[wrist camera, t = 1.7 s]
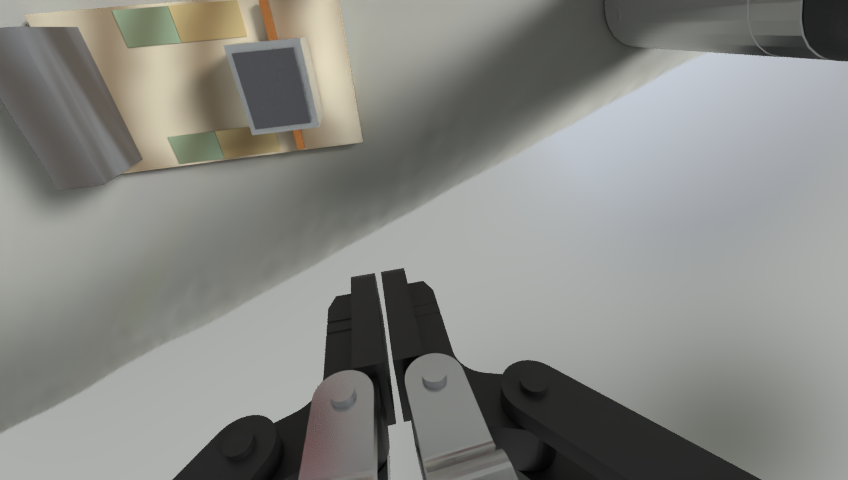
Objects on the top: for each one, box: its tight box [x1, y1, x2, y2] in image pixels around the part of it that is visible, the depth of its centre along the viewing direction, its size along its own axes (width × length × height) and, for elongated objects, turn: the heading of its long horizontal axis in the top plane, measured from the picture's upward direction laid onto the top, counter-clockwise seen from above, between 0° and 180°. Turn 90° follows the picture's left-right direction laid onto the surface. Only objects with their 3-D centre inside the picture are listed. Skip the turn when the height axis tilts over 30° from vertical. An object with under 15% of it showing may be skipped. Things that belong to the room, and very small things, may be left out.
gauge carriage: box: [223, 0, 323, 149], centre depth 28 cm, size 5×11×6 cm, turn 5°
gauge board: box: [0, 0, 363, 190], centre depth 28 cm, size 22×12×7 cm, turn 95°
